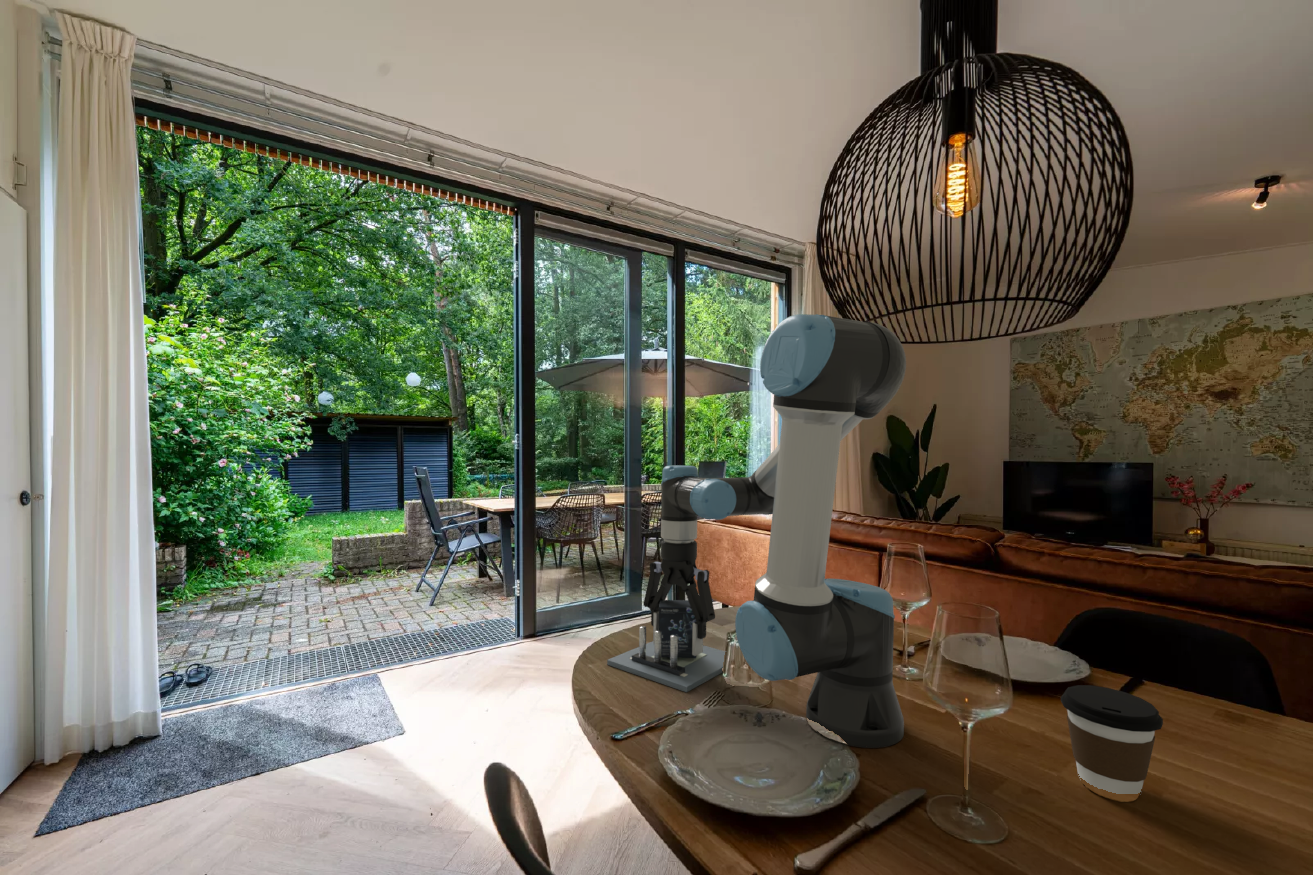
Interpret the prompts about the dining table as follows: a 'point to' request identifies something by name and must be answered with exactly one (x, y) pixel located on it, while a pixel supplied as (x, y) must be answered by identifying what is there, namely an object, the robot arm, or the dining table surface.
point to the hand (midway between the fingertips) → (677, 647)
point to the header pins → (658, 653)
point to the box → (676, 626)
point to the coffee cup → (1111, 736)
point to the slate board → (695, 668)
